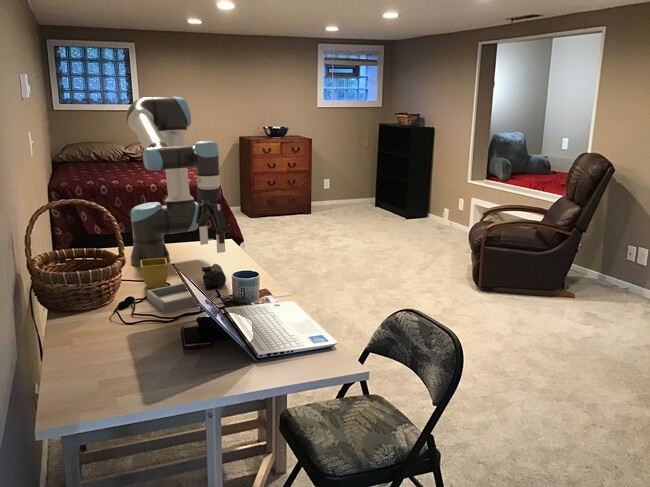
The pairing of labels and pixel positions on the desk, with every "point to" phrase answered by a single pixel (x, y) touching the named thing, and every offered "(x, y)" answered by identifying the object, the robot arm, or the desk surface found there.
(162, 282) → the flower pot
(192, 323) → the desk surface
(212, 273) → the end cap
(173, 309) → the holder tray
